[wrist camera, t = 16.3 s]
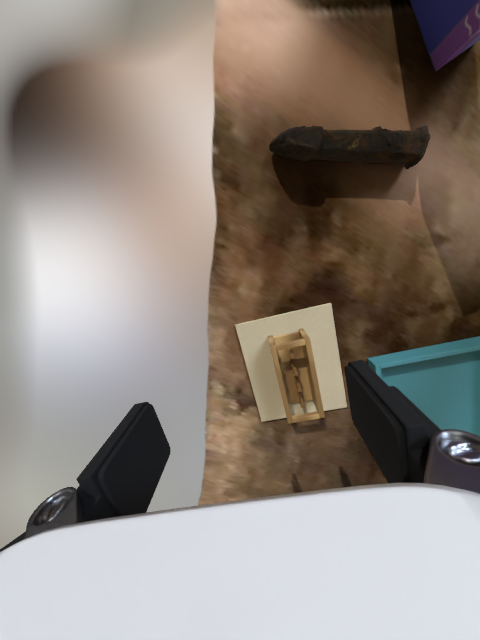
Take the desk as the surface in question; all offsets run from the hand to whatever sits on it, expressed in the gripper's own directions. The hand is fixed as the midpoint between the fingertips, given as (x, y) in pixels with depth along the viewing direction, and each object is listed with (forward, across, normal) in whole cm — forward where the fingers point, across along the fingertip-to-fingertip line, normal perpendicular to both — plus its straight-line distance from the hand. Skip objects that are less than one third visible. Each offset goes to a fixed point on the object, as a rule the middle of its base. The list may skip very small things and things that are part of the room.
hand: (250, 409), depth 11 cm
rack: (+28, -4, +14) cm, 31 cm away
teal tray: (+28, -26, +27) cm, 47 cm away
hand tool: (+28, -16, -16) cm, 36 cm away
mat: (+28, -4, +14) cm, 32 cm away
